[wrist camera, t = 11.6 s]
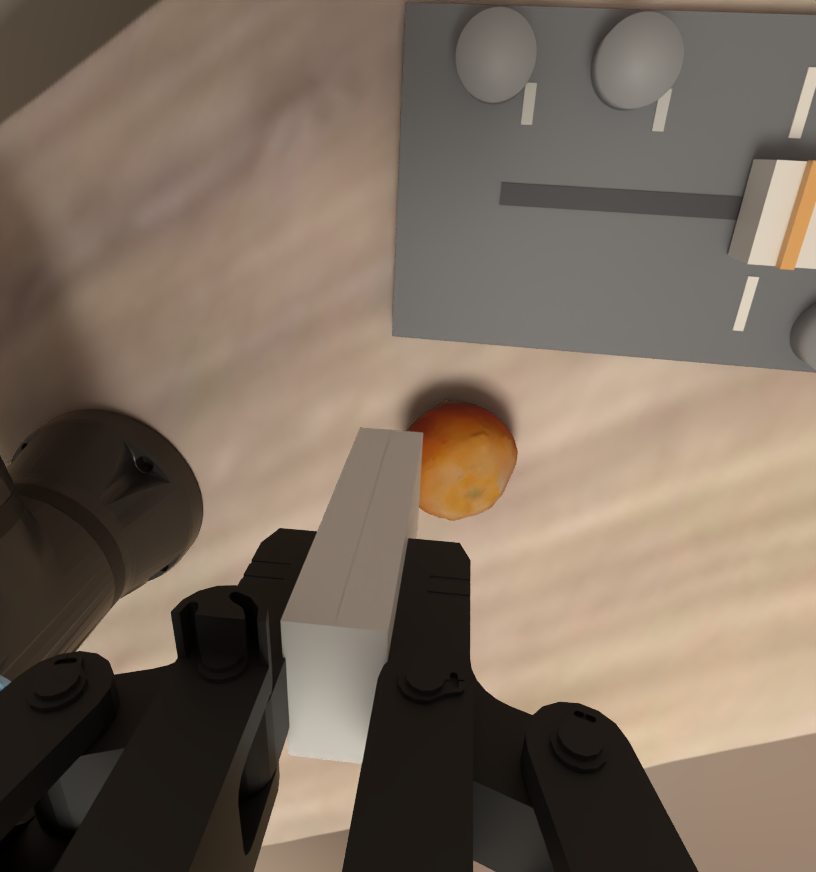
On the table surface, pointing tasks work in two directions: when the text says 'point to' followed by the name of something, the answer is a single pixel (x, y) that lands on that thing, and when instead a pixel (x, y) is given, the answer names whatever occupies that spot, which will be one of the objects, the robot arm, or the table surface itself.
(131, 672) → the robot arm
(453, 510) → the fruit
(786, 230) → the fader
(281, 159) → the table surface
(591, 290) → the console
